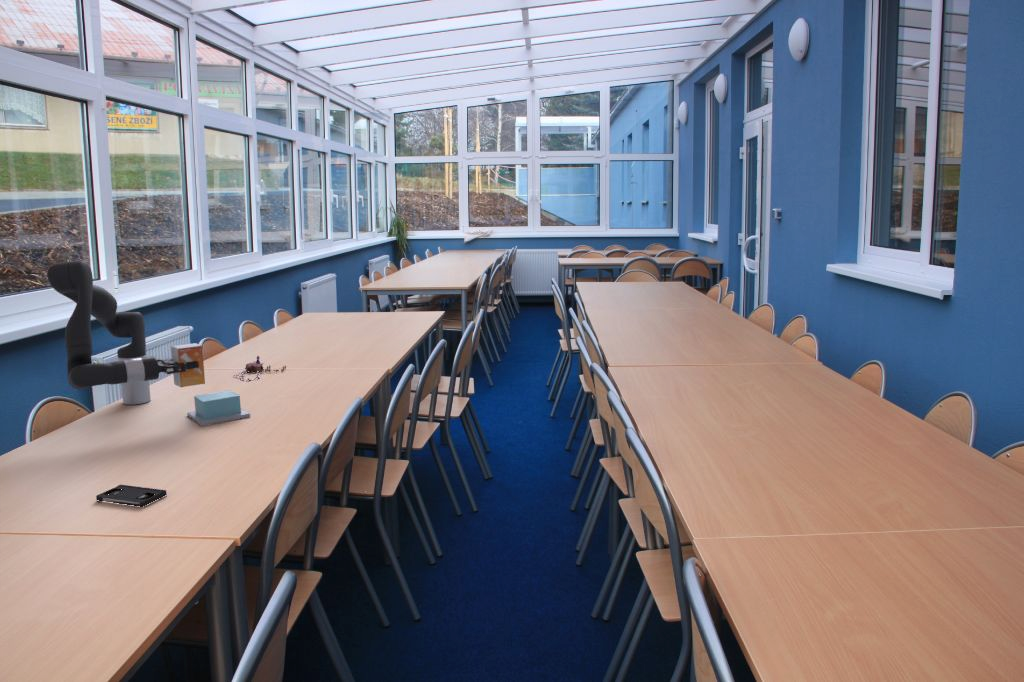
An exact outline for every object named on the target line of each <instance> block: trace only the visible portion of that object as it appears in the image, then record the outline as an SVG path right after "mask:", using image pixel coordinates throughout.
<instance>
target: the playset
mask: <svg viewBox="0 0 1024 682" xmlns="http://www.w3.org/2000/svg"><path fill="white" fill-rule="evenodd" d="M260 359H261V357H260V356H259V355H257V356H256V361H253V362H248V363H246V364H245V367H244V369H245V370H243V371H241V372H240V373H241V374H240V373H238V374H240V375H246V373H244V372H248V371H249V373H251V372H255V373H257V371H260V373H261V372H262V373H263V371H264V372H267V371H268V373H269V372H270V373H271V365H269V366H268V365H267V366H266V368H264V366H263V365H264V362H262V363H261V361H260ZM269 368H270V369H269ZM285 368H286V369H287V366H286V365H285V366H284V365H283V366H282V368H280V369H281V370H280V371H279V370H278V369H276V370H273V369H272V370H273V371H272V372H284V371H285ZM242 373H243V374H242ZM235 375H236V374H234V375H233V377H234V376H235ZM257 375H259V373H257ZM255 377H256V378H259V377H258V376H255ZM256 378H255V379H256ZM240 379H243V380H244V377H241V378H240ZM259 379H260V378H259ZM248 380H250V379H249V377H247V381H248Z"/></svg>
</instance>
